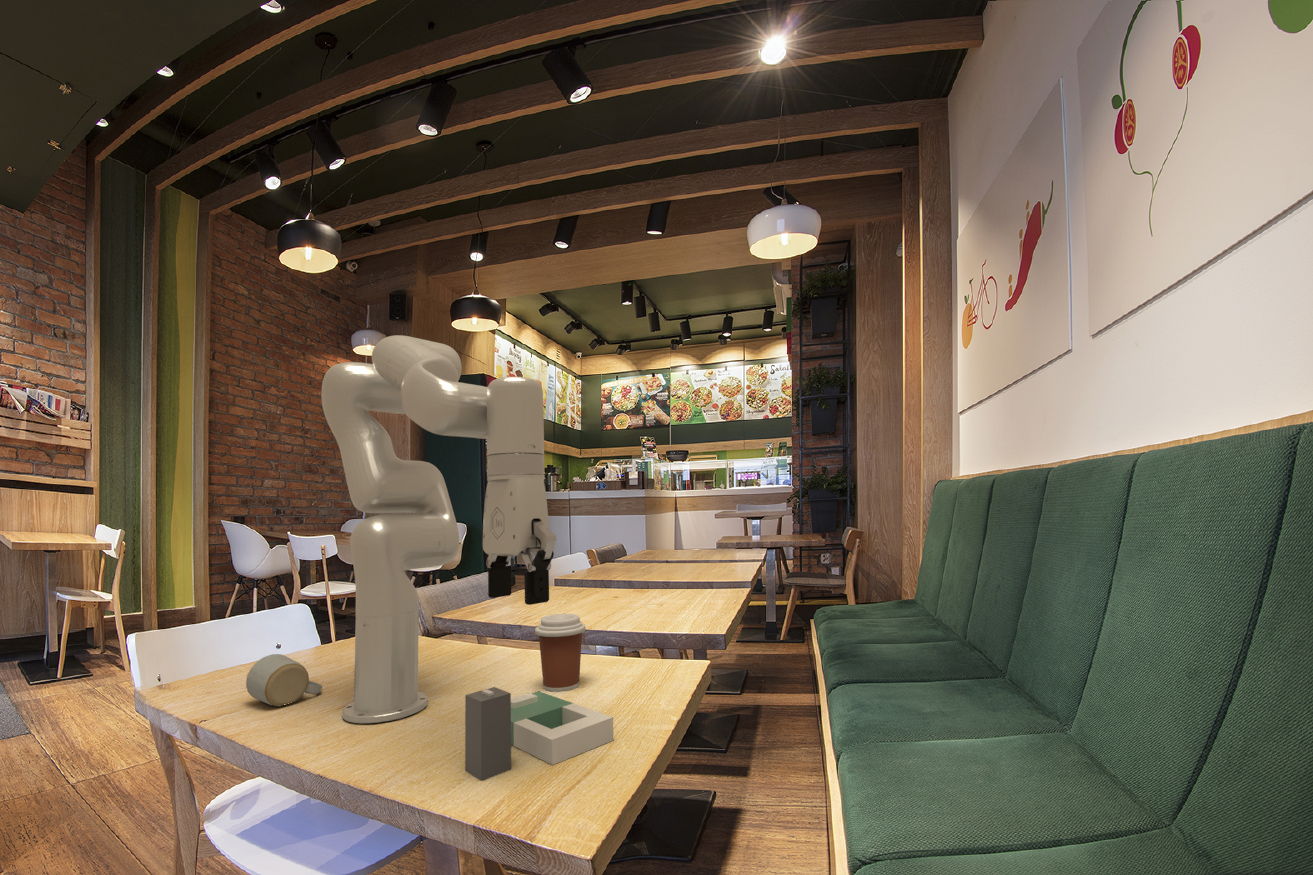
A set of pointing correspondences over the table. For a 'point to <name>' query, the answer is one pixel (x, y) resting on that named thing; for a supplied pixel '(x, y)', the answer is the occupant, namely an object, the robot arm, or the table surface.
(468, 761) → the grey square peg
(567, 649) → the coffee cup
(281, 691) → the ceramic mug
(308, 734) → the table surface
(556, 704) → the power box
